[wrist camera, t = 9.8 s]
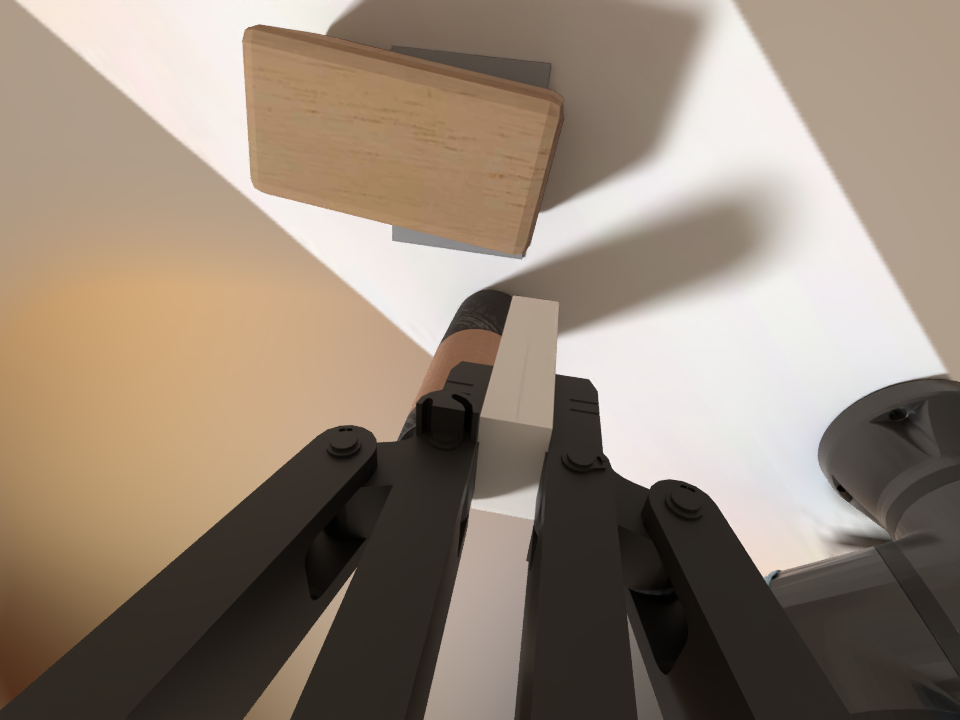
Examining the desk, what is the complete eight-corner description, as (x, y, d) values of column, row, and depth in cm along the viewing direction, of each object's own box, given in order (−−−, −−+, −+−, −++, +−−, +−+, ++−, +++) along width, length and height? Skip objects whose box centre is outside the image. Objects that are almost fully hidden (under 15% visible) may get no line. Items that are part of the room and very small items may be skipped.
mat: (550, 63, 35) (551, 63, 34) (521, 258, 43) (521, 259, 42) (393, 45, 36) (391, 45, 35) (393, 239, 44) (392, 240, 43)
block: (567, 93, 35) (311, 31, 36) (569, 100, 27) (233, 19, 27) (533, 223, 41) (310, 168, 41) (525, 263, 32) (245, 193, 33)
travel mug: (444, 340, 48) (380, 483, 32) (467, 275, 44) (408, 399, 27) (513, 366, 49) (487, 522, 32) (542, 304, 45) (530, 444, 28)
